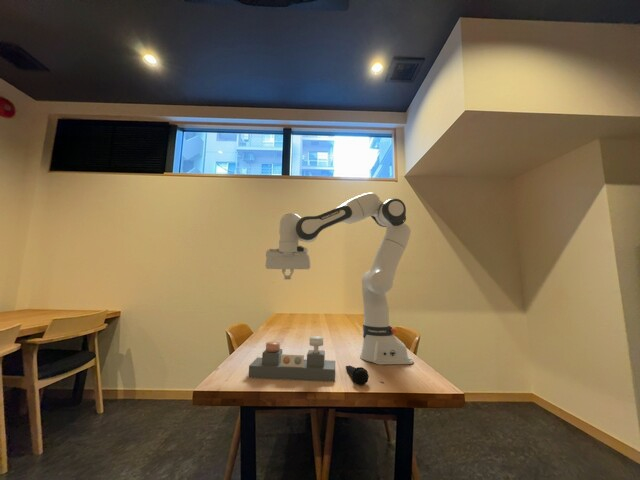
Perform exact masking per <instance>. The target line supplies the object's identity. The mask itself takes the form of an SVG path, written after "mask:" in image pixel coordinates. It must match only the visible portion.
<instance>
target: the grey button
mask: <svg viewBox="0 0 640 480" xmlns="http://www.w3.org/2000/svg"><path fill="white" fill-rule="evenodd" d="M323 345H324V337H323V336H318V335H317V336H316V335H315V336H314V335H313V336H310V337H309V346H312V347H313V350H314V353H317V354H318V353H319V349H320V347H322V346H323Z"/></svg>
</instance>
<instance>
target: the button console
mask: <svg viewBox="0 0 640 480" xmlns="http://www.w3.org/2000/svg"><path fill="white" fill-rule="evenodd" d="M325 355H326V352H325V350H319V353H318V354H317V353H314V349H313V350H312V349H309V350H308V352H307V353H306V359H305V354H290V353H289V354H287V353H283V348H280V350H279V351H276V352H268V351H266V349H265V350H263V351H262V355H261V356H262V357H256V358H255V359H254V360H253V361H252V362H251V363H250V364H249V366H248V376H247V377H248V379H265V380H267V379H268V380H282V381H283V380H285V381H286V380H287V381H288V380H289V381H306V382H307V381H309V382H330V383H335V382H336V360H327V359H326V360H325V358H326V357H325Z"/></svg>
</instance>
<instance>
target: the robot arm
mask: <svg viewBox="0 0 640 480" xmlns="http://www.w3.org/2000/svg"><path fill="white" fill-rule="evenodd" d="M406 214H407V207H406V205H405V202H404V201H403V200H401V199H400V198H389V199H387V200H386V201H382V200H380V197H379V196H378V194H376V193H374V192H366V193H363V194H361V195H357V196H355V197H352V198H351V199H348V200H347V201H345V202H343V203H342V204H340V205H339V206H337V207H336V208H333V209H331V210H329V211H327V212H326V211H325V212H324V213H321V214H319V215H314V216H313V215H312V216H309V215H308V216H303V217H301V216H300V215H298V214H297V213H287V214H284V215H282V216H281V218H280V222H279V230H278V231H279V233H278V234H279V241H278V248H269V249H267V250H266V252H265V258H266V260H265V268H266V269H267V270H281V272H282V274H283V277H284V278H283V280H292V276H293V274H294V272H295V270H310V269H311V258H310V255H309V254H308V252H309V249H308V247H304V246H302V245H299V241H300V242H303V243H313V242H314V241H316V240H317V239H318V236H319V234H320V232H322V231H323V230H325V229H327V228H330V227H332V226H334V225H337V224H339V223H345V224H348V225H350V224H354V223H357V222H361V221H363V220H366V219H367V218H369V217H371V218H372V220H374V221H375V224H377V225H378V226H380V227H382V228H386V231H385V234H384V237H383V238H382V241H381V242H380V244H379V247H378V248H377V250H376V253H375V256H374V259H373V262H372V265H371V267H370V270H367V271H366V272H365V273H364V274H363V275H362V276H361V293H362V301H363V325H362V347H361V352H360V356H359V358H361V360H363V361H366V362H370V363H374V364H376V365H411V364H413V363H414V358H413V356H411V355H410V354H409V353H408V350H407V346H406V344H405V343H404V342H402V341H401V340H400V339H399V338H398V337H397V336H395V335H394V334H396V333H397V329H396V328H395V327H392V326H391V325H390V315H389V314H390V311H389V310H390V309H389V308H390V307H389V304H388V299H387V293H388V292H390V291H391V289H392V288H393V286H394V280H395V276H396V273H397V270H398V269H397V268H398V267H399V263H400V261H401V259H402V257H403V255H404V252H405V250H406V248H407V246H408V242H409V239H410V237H411V227H410V226H409V225H408V224H406V223H405V222H406V220H407V215H406ZM287 270H289V271H290V273H289V274H288V275H287V274H286V272H287Z"/></svg>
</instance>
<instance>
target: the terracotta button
mask: <svg viewBox="0 0 640 480" xmlns="http://www.w3.org/2000/svg"><path fill="white" fill-rule="evenodd" d="M280 349H281V343H280V341H268V342H267V341H266V344H265V350H266V351H268V352H276V351H279V350H280Z"/></svg>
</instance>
